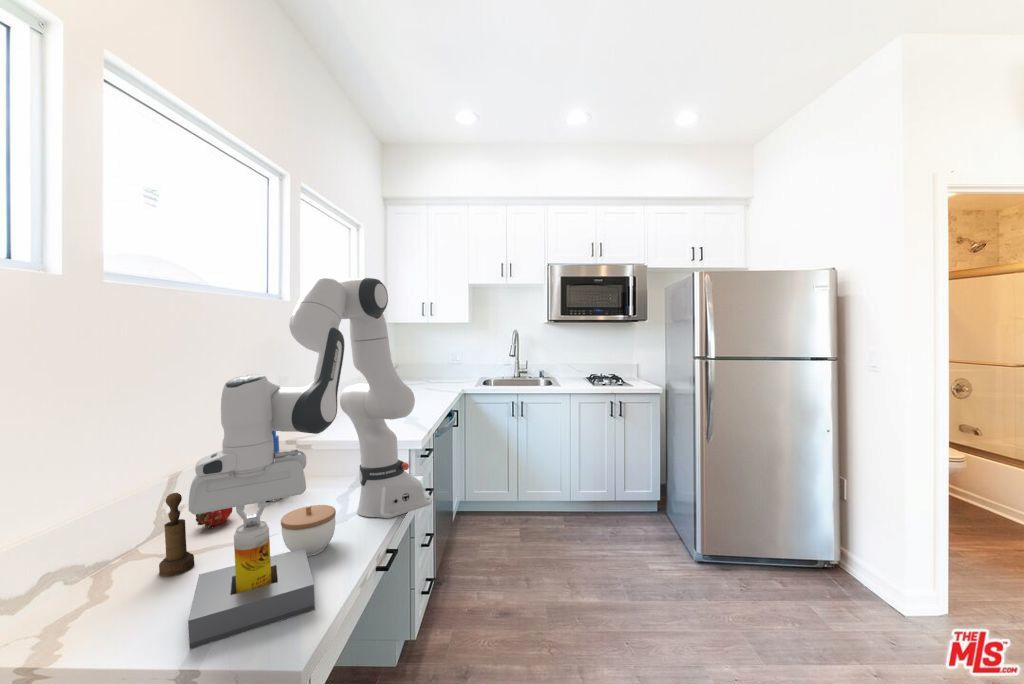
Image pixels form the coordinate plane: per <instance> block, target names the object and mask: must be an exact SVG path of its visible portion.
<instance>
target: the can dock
mask: <svg viewBox="0 0 1024 684" xmlns="http://www.w3.org/2000/svg"><path fill="white" fill-rule="evenodd" d="M270 561H271V583H272V584H270V585H266V586H262V587H259V588H255V589H252V590H248V591H244V592H241V593H237V594H236V573H235V565H231V566H227V567H224V568H220V569H215V570H212V571H211V570H210V571H207V572H203V573H200V574H198V578H197V582H196V585H195V589H194V595H193V597H192V598H193V599H192V603H191V607H190V612H189V615H188V619H187V624H188V626H187V627H188V628H187V631H188V645H189V646H188V647H189V650H192V649H195V648H199V647H201V646H205V645H208V644H212V643H214V642H217V641H221V640H223V639H227V638H230V637H233V636H235V635H236V636H237V635H239V634H240V635H241V634H242V633H243V634H244V633H247V632H249V631H253V630H255V629H258V628H261V627H265V626H268V625H271V624H274V623H277V622H280V621H284V620H287V619H290V618H293V617H296V616H299V615H302V614H303V615H304V614H306V613H308V612H312V611H315V610H316V601H315V600H316V599H315V583H314V579H313V575H312V571H311V568H310V563H309V559H308V557H307V555H306V551H305V548H303V549H299V550H295V551H288V552H284V553H283V552H282V553H280V554H276V555H270Z"/></svg>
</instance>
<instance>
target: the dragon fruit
mask: <svg viewBox="0 0 1024 684" xmlns="http://www.w3.org/2000/svg"><path fill="white" fill-rule="evenodd" d="M233 508H234V507H232V508H227V509H222V510H217V511H211V512H206V513H201V514H196V515H195V521H196V522H197V523H196V524H197V525H198V526H204V527H205V528H209V529H213V528H215V527H216V526H217V525H220V526H222V525H226V523H227V521H228V518H230V516H231V514H232V513H233V510H234V509H233Z"/></svg>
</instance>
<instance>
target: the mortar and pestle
mask: <svg viewBox="0 0 1024 684" xmlns="http://www.w3.org/2000/svg"><path fill="white" fill-rule="evenodd" d="M182 500H183V497H182V495H181V494H180V493H179V492H174V493H169V494H168V495H167V496H166V499H165V504H166V505H167V507H169V509H170V511H169V513H167V516H168V519H169V522H166V523H165V524H164V540H165V541H164V542H165V557H164V558H163V559H162V561H160V562H159V565H158V571H159V576H160V577H173V576H177V575H181V574H183V573H186V572H189V570H191V569H192V568H194V567H195V555H194V553H191V552H189V551H188V550H187V535H186V534H187V533H186V532H187V531H186V520H185V519H183V518H180V516H181V511H180V510H179V505H180V503H181V502H182Z"/></svg>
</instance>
